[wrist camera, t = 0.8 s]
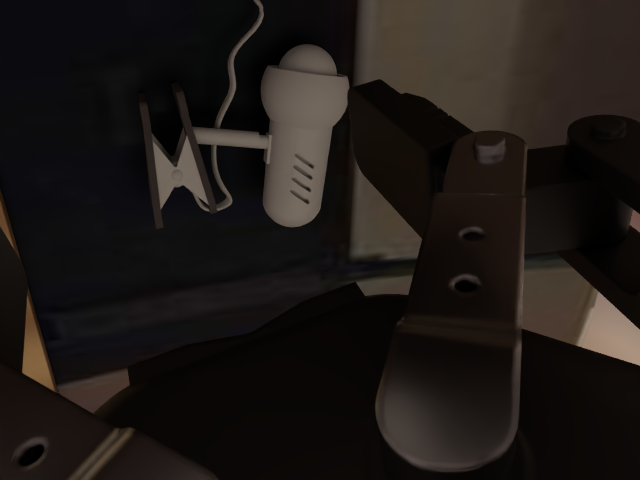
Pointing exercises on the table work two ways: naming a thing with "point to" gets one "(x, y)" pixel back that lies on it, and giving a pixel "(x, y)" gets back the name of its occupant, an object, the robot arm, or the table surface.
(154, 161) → the clip-on lamp
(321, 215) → the table surface
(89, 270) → the table surface
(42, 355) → the board
